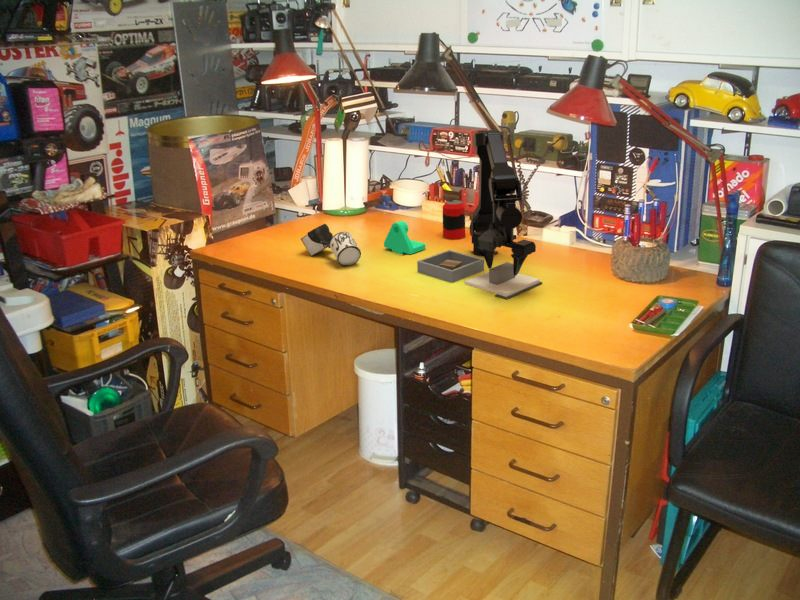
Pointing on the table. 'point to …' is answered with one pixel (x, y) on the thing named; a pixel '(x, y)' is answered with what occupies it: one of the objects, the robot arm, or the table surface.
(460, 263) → the walnut block
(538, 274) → the table surface
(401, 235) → the camera mount
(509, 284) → the lid
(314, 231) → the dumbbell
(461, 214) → the soda can
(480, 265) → the storage box
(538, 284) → the rubber mat
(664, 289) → the table surface
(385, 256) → the table surface
